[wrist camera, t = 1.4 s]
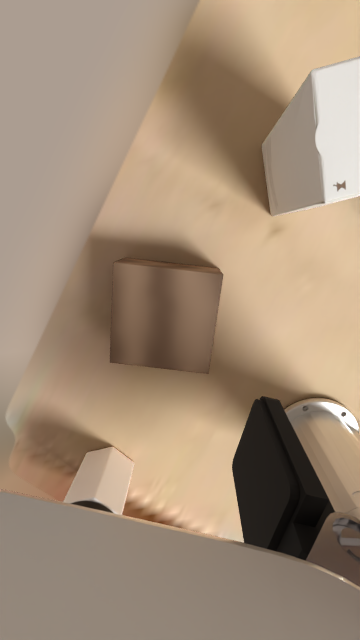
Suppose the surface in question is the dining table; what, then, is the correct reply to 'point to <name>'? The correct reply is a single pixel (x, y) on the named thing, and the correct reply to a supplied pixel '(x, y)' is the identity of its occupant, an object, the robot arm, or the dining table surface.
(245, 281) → the dining table surface
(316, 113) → the skincare box
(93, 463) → the hexagonal capped bottle
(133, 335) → the walnut block
